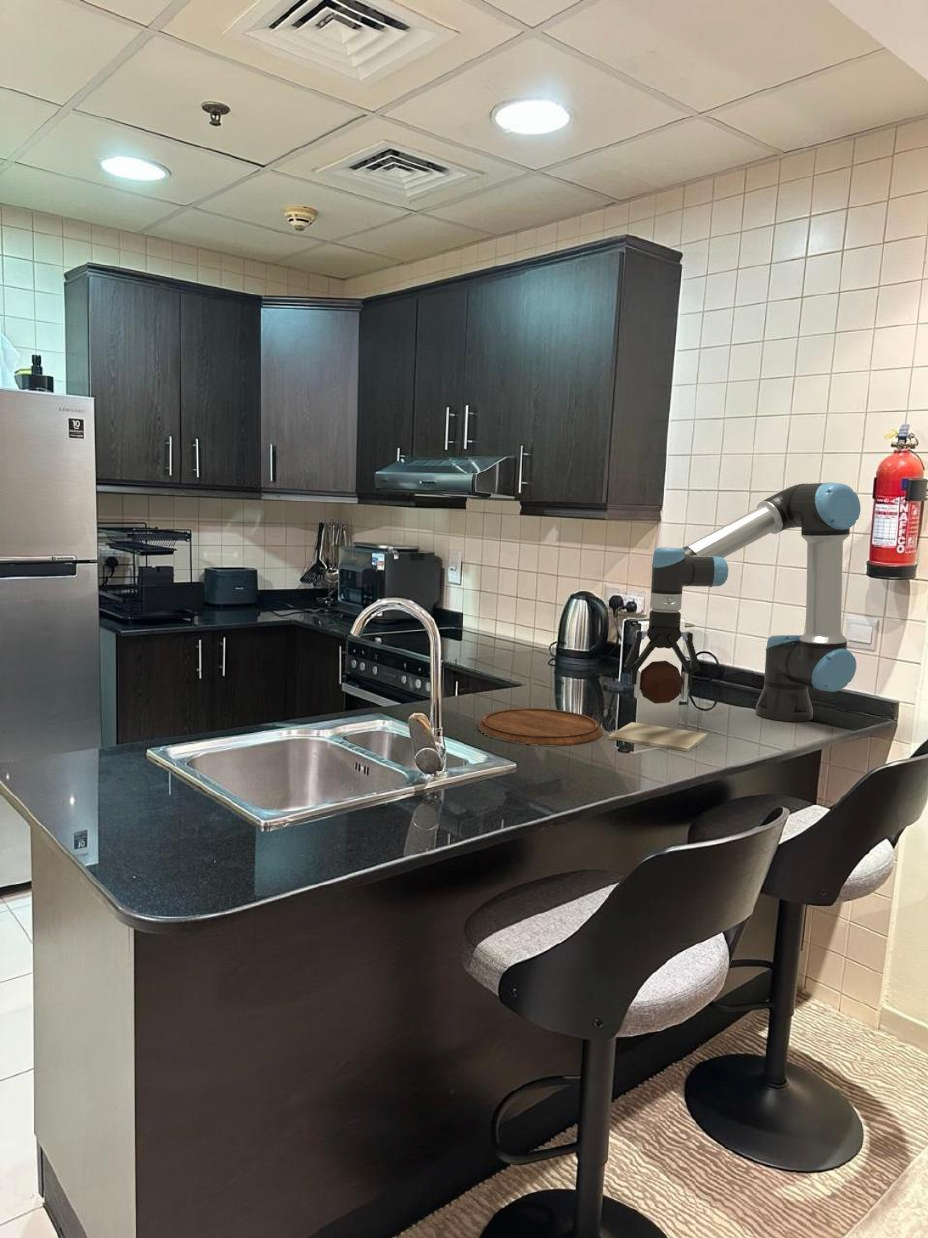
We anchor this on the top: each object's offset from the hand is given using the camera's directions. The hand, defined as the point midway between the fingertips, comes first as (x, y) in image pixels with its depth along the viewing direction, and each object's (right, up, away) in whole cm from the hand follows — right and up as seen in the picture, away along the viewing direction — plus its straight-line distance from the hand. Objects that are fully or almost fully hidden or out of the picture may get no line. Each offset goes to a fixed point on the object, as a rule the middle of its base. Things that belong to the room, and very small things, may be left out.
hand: (660, 698), depth 216 cm
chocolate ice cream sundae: (0, +3, -9) cm, 10 cm away
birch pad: (0, -10, +1) cm, 10 cm away
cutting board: (-29, -9, +7) cm, 32 cm away
